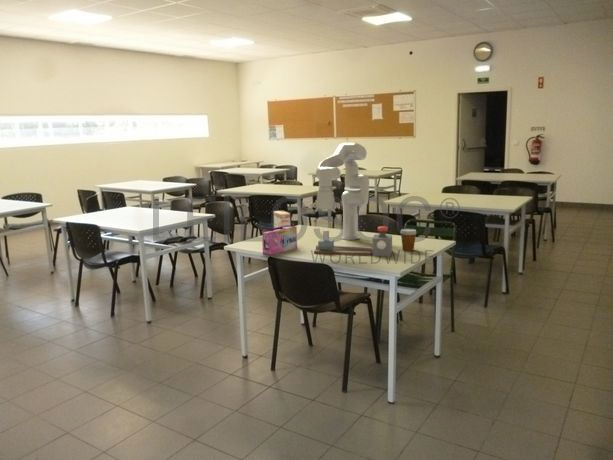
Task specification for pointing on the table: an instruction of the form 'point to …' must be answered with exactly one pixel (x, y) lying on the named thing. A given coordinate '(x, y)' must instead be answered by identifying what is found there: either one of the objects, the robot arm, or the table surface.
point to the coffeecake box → (281, 219)
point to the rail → (346, 250)
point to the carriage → (326, 241)
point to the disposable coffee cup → (408, 239)
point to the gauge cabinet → (382, 245)
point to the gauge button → (382, 231)
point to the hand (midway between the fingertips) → (325, 218)
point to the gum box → (279, 239)
